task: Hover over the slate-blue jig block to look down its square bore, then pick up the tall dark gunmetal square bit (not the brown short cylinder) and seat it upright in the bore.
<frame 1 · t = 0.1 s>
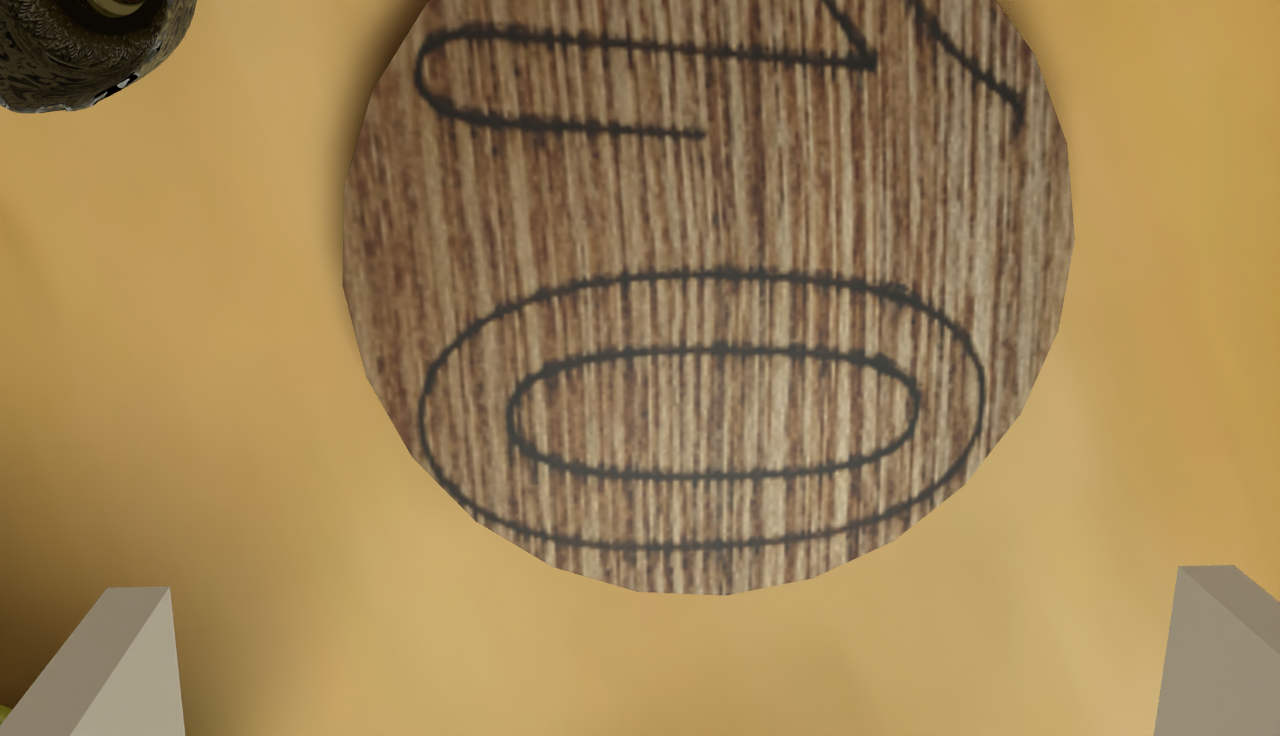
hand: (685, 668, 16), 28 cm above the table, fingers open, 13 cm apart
trivet: (706, 250, 44), on the table
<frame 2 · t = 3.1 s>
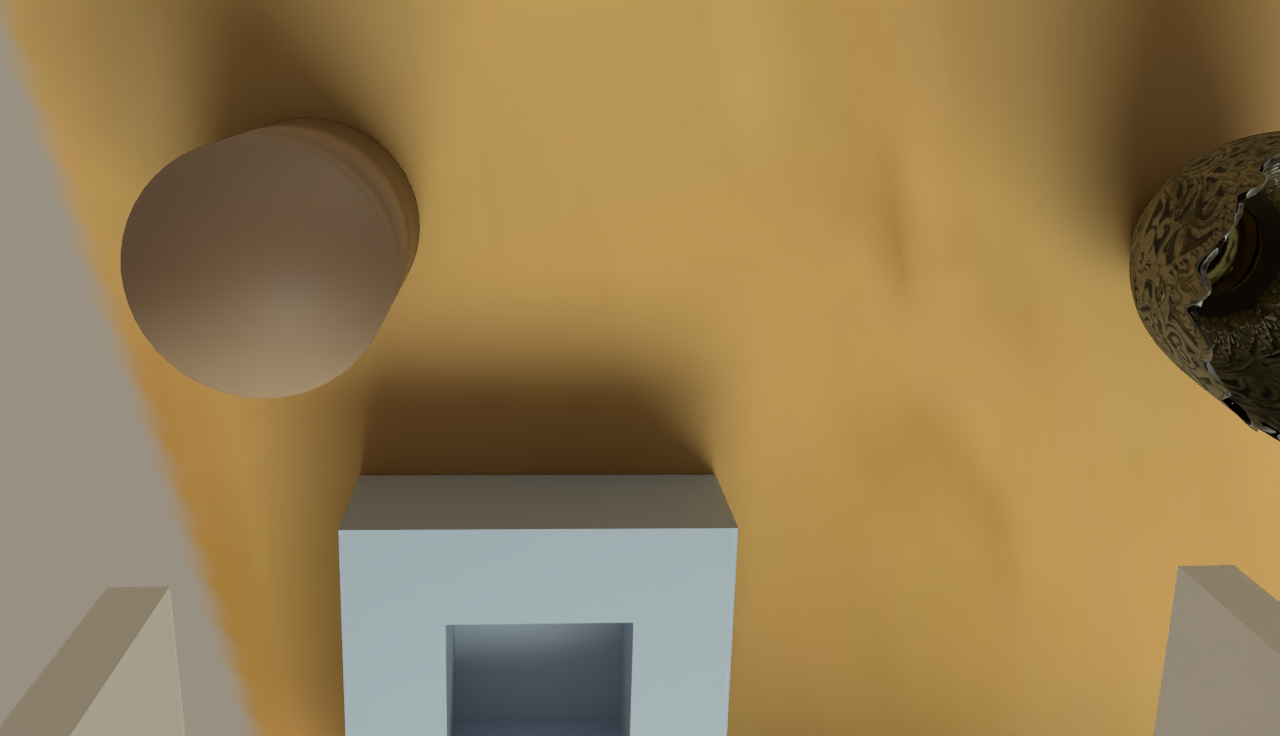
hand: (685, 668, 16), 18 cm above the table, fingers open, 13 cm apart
brown short cylinder: (314, 223, 32), on the table
bore block: (538, 636, 36), on the table
ornate candle holder: (1180, 238, 35), on the table
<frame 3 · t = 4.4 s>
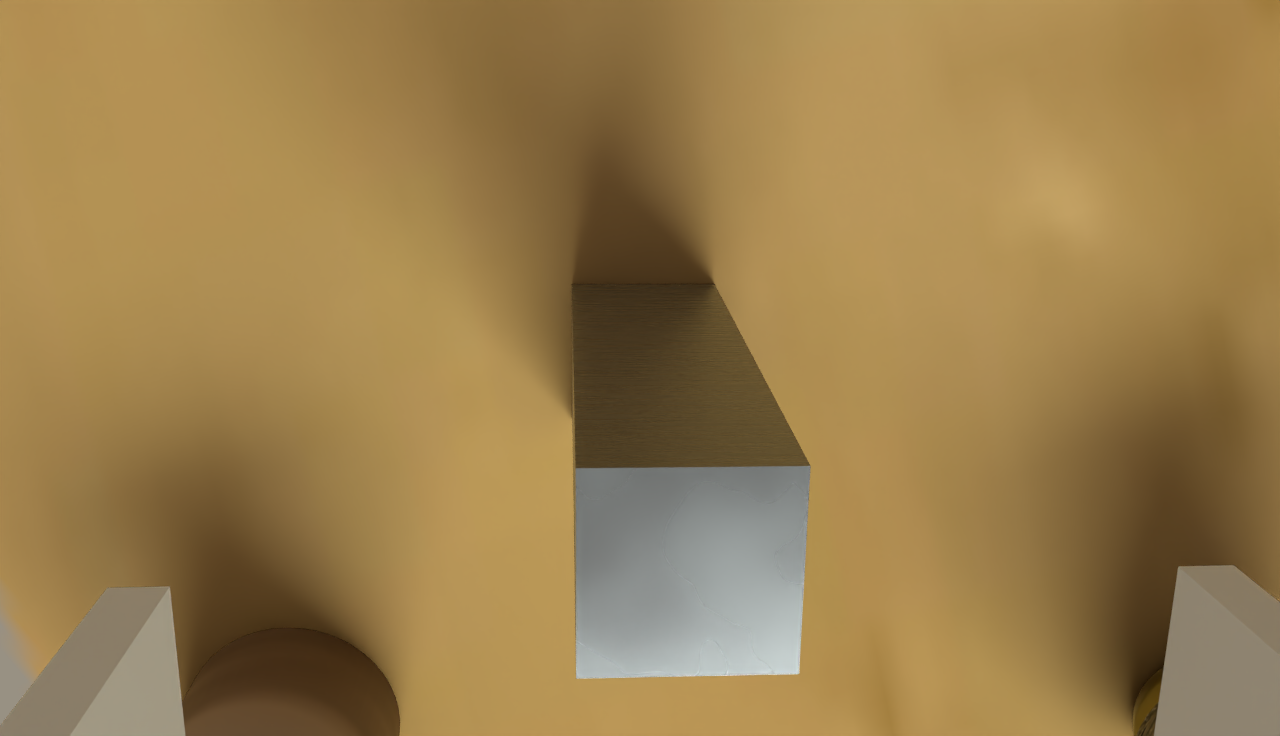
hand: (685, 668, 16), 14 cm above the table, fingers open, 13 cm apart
brown short cylinder: (293, 722, 32), on the table
square bit: (642, 352, 30), on the table
ornate candle holder: (1184, 700, 34), on the table
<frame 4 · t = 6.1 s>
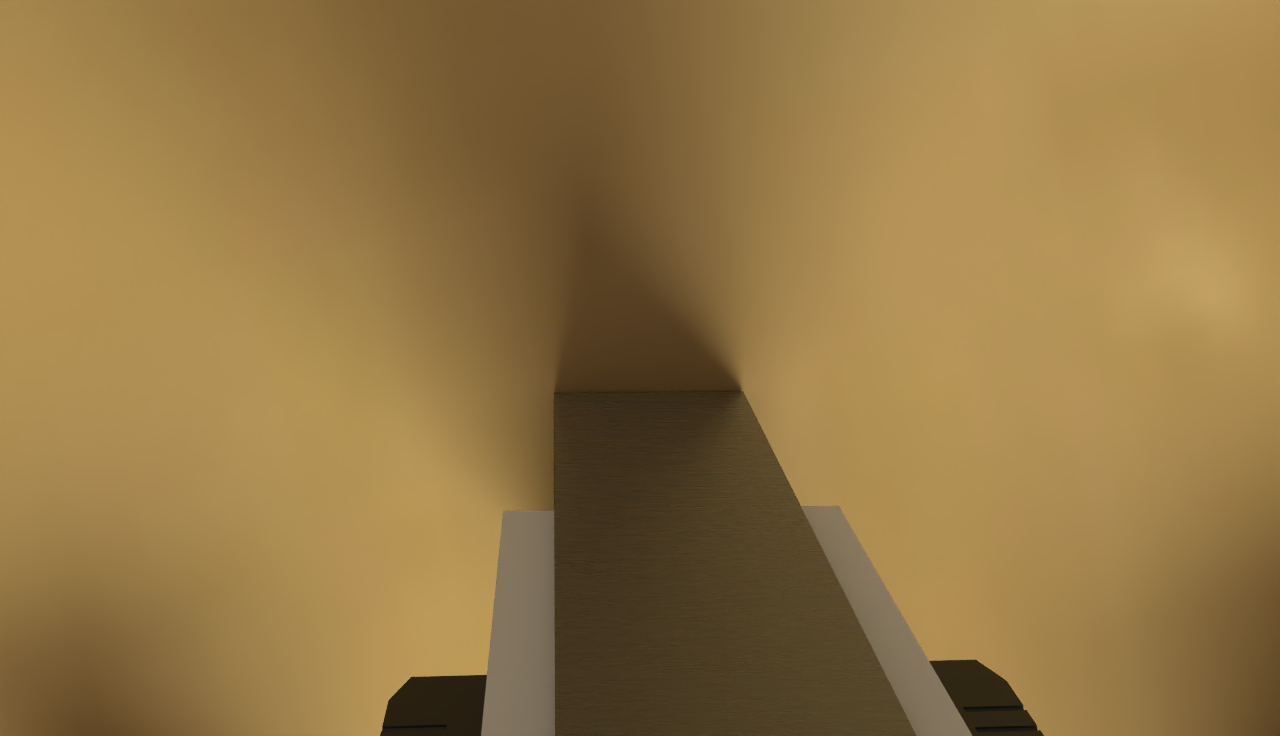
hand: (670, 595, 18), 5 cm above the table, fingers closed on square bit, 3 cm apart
square bit: (647, 480, 22), on the table, touching gripper
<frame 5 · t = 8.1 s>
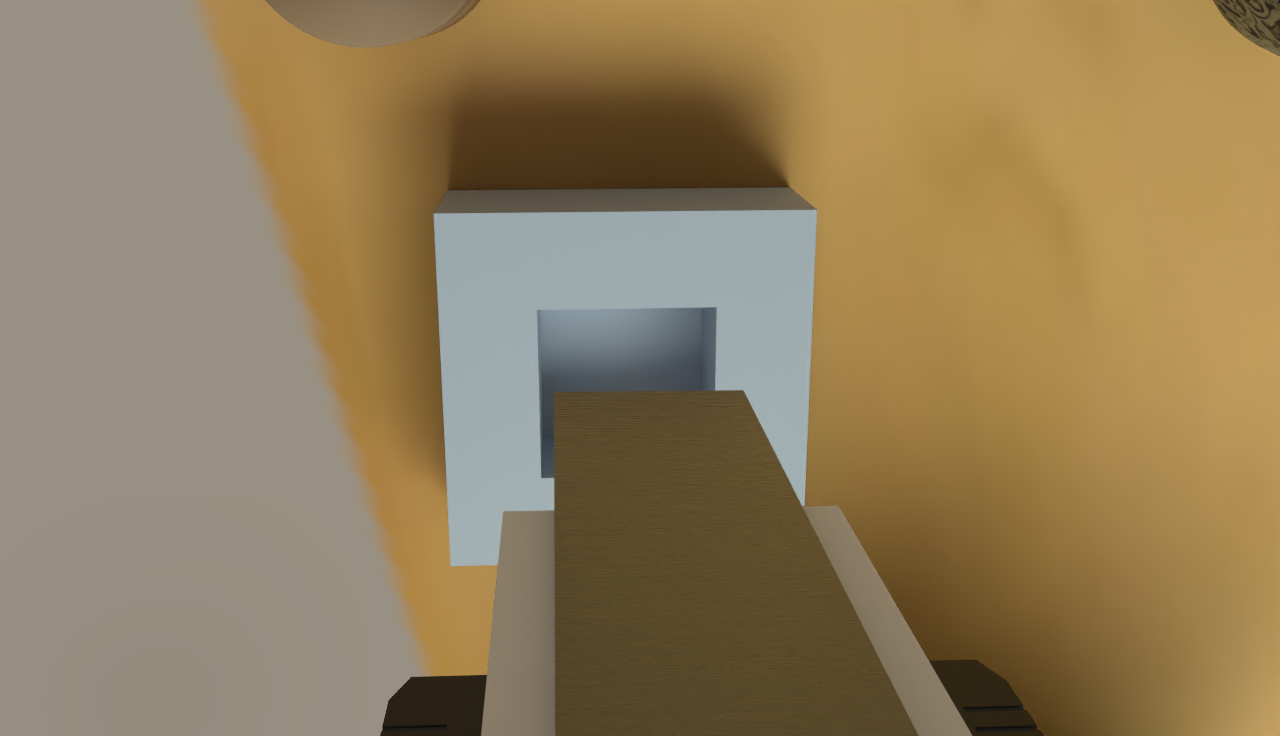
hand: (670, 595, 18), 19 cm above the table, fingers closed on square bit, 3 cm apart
square bit: (647, 479, 22), point 15 cm above the table, touching gripper
bore block: (620, 353, 37), on the table
when the fingers open (6 cm above the table, at t = 10.4 s): square bit drops 1 cm, resting on bore block.
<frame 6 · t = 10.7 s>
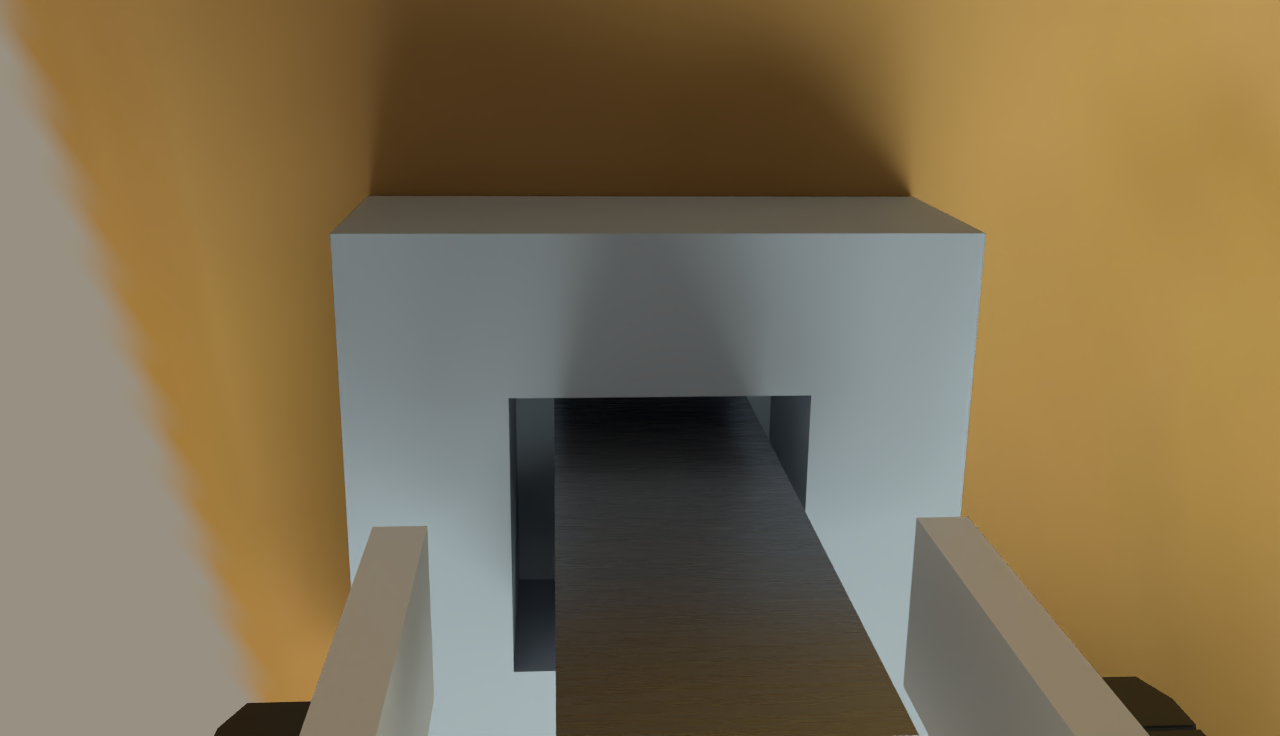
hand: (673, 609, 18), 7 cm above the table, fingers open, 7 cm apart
square bit: (644, 461, 23), resting on bore block
bore block: (641, 453, 24), on the table
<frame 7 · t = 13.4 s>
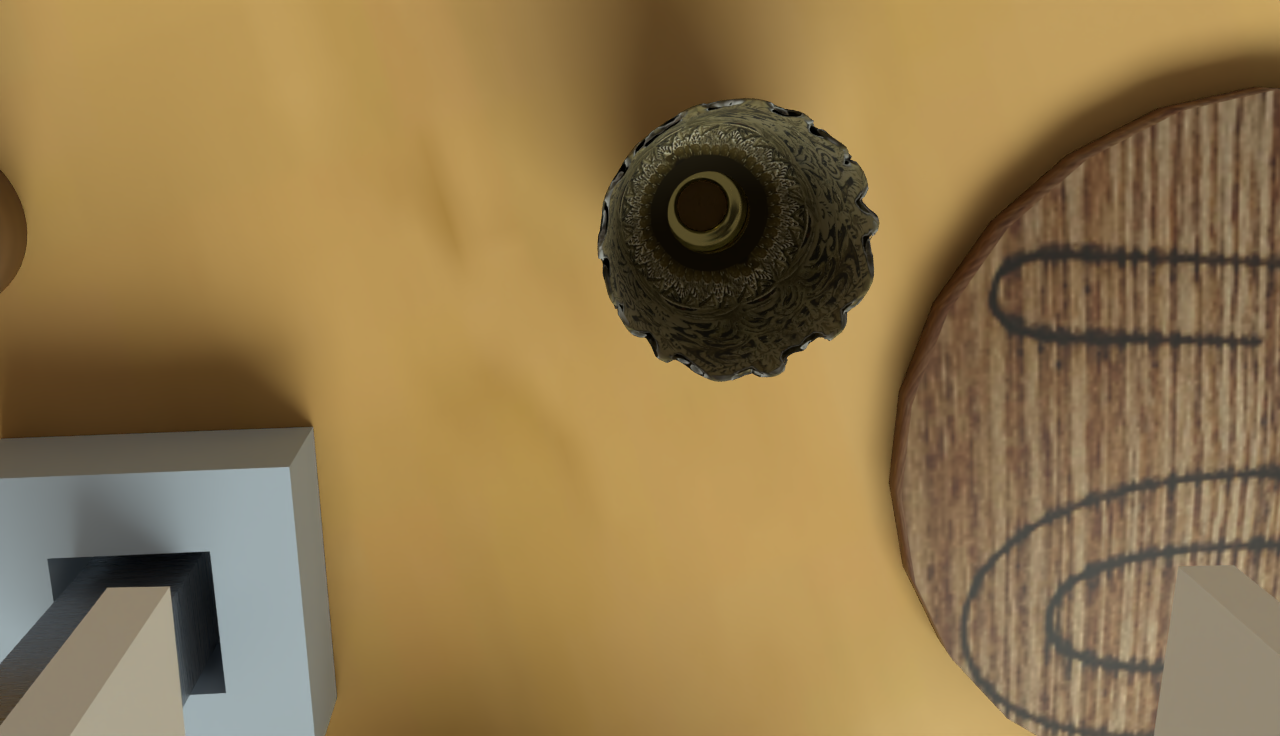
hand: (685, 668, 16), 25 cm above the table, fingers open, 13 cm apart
square bit: (171, 578, 41), resting on bore block
trivet: (1226, 441, 44), on the table
bore block: (175, 573, 42), on the table
ornate candle holder: (701, 204, 40), on the table
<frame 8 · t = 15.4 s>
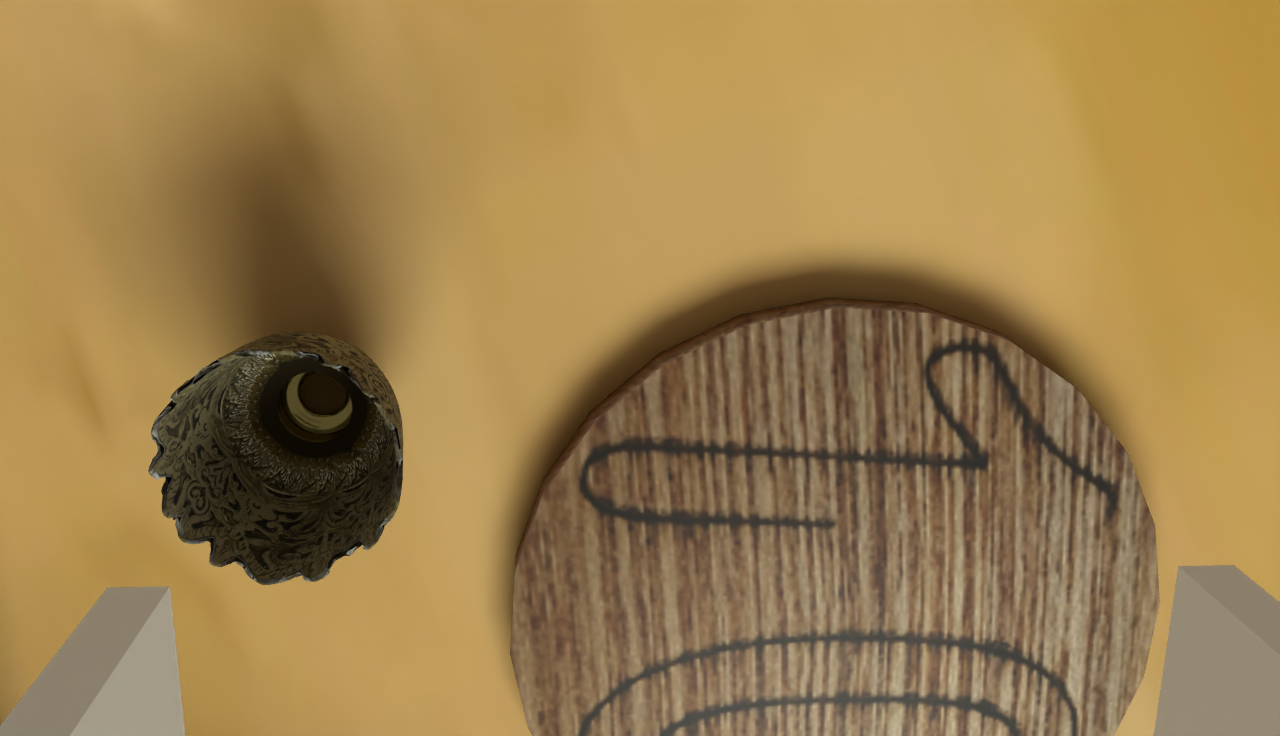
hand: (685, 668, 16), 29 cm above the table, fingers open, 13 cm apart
trivet: (827, 601, 49), on the table
ornate candle holder: (324, 390, 44), on the table
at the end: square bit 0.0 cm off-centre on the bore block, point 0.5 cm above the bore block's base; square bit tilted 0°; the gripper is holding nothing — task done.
